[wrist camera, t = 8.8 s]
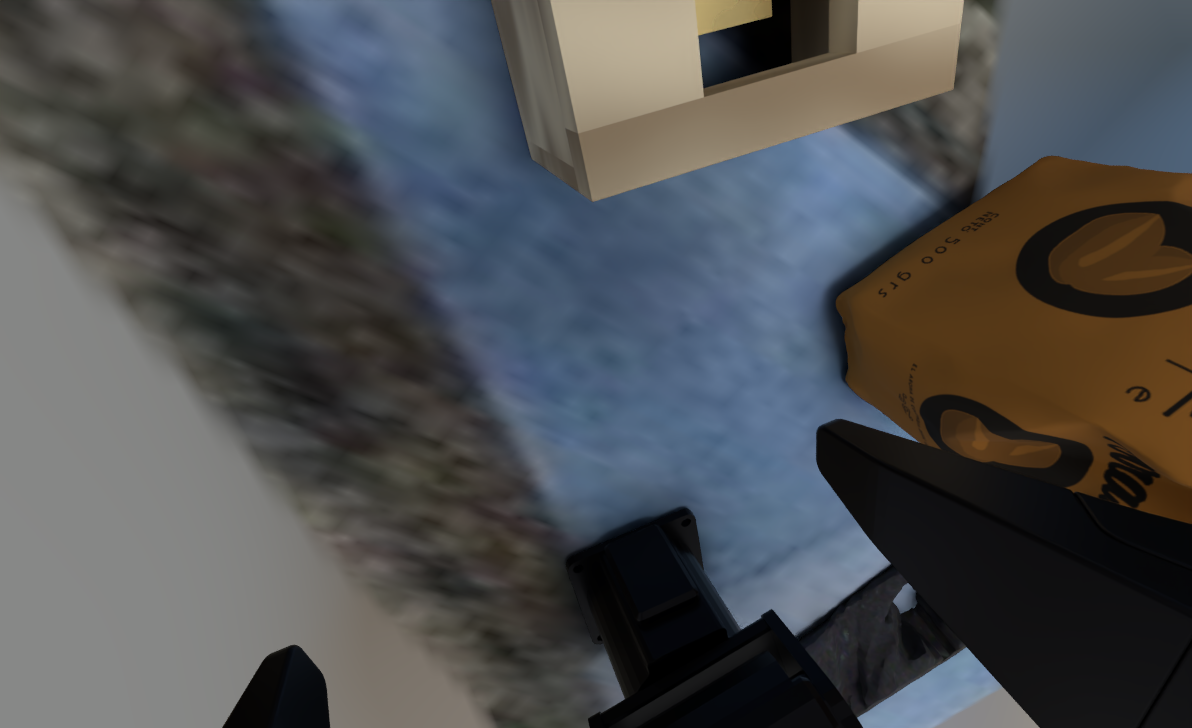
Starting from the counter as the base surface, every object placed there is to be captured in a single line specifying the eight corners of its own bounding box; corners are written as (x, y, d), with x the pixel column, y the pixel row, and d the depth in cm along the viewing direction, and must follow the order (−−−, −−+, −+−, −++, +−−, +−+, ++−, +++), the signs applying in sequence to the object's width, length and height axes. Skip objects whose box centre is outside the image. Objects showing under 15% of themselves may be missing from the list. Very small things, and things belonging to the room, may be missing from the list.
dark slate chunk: (670, 696, 36) (706, 775, 33) (957, 505, 37) (1027, 560, 33) (741, 772, 45) (777, 842, 41) (974, 616, 46) (1031, 670, 42)
